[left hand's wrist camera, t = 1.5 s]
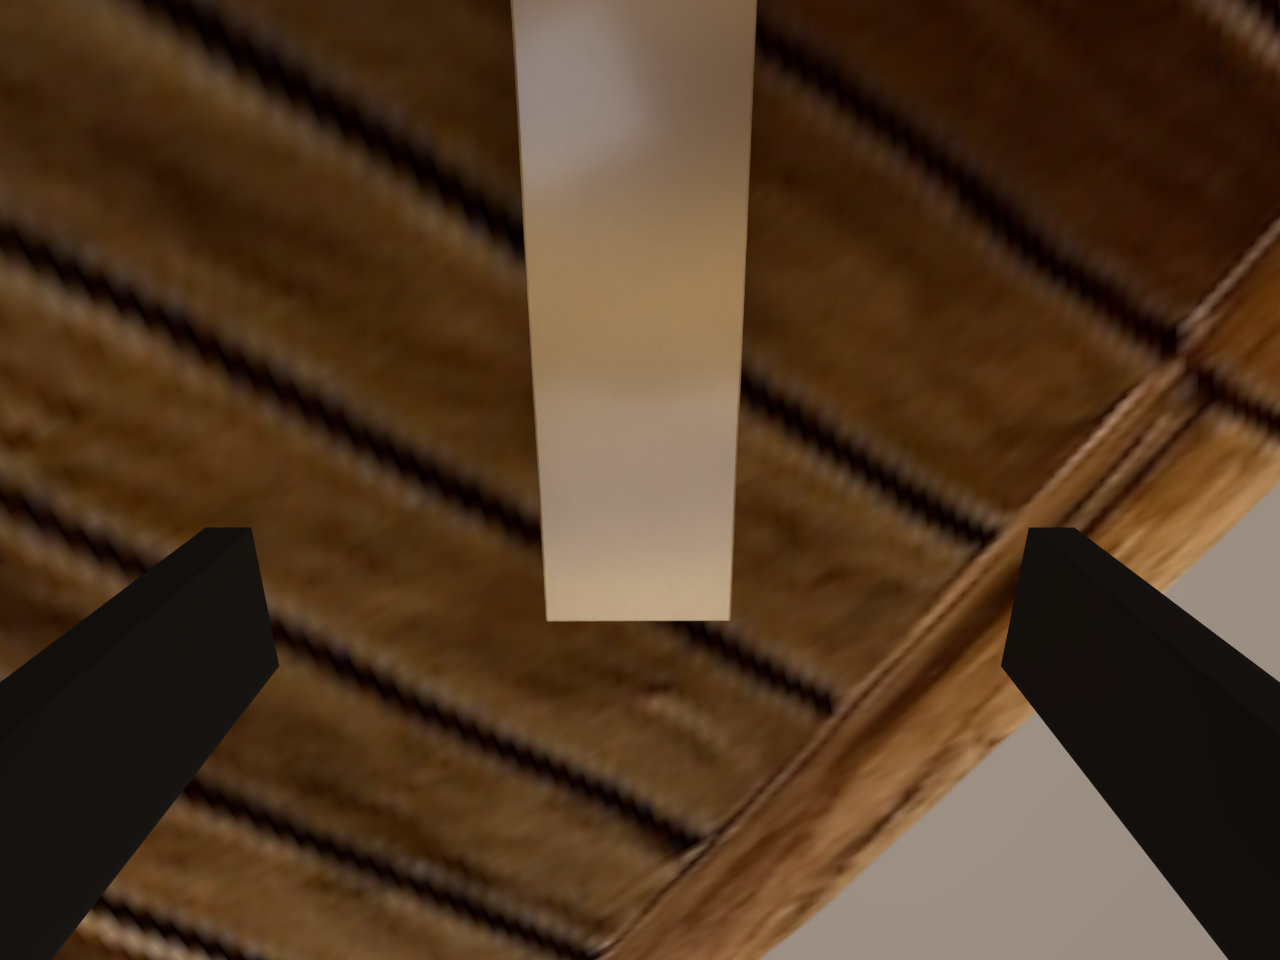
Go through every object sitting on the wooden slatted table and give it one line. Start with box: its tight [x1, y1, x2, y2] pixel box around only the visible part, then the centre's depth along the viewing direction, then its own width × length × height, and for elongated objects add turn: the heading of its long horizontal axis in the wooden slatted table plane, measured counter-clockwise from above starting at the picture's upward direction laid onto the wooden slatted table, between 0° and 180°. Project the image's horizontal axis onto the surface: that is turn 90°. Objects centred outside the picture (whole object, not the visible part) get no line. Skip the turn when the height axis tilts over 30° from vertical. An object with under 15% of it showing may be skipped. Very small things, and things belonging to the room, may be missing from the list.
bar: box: [510, 0, 757, 621], centre depth 18 cm, size 24×5×8 cm, turn 0°
